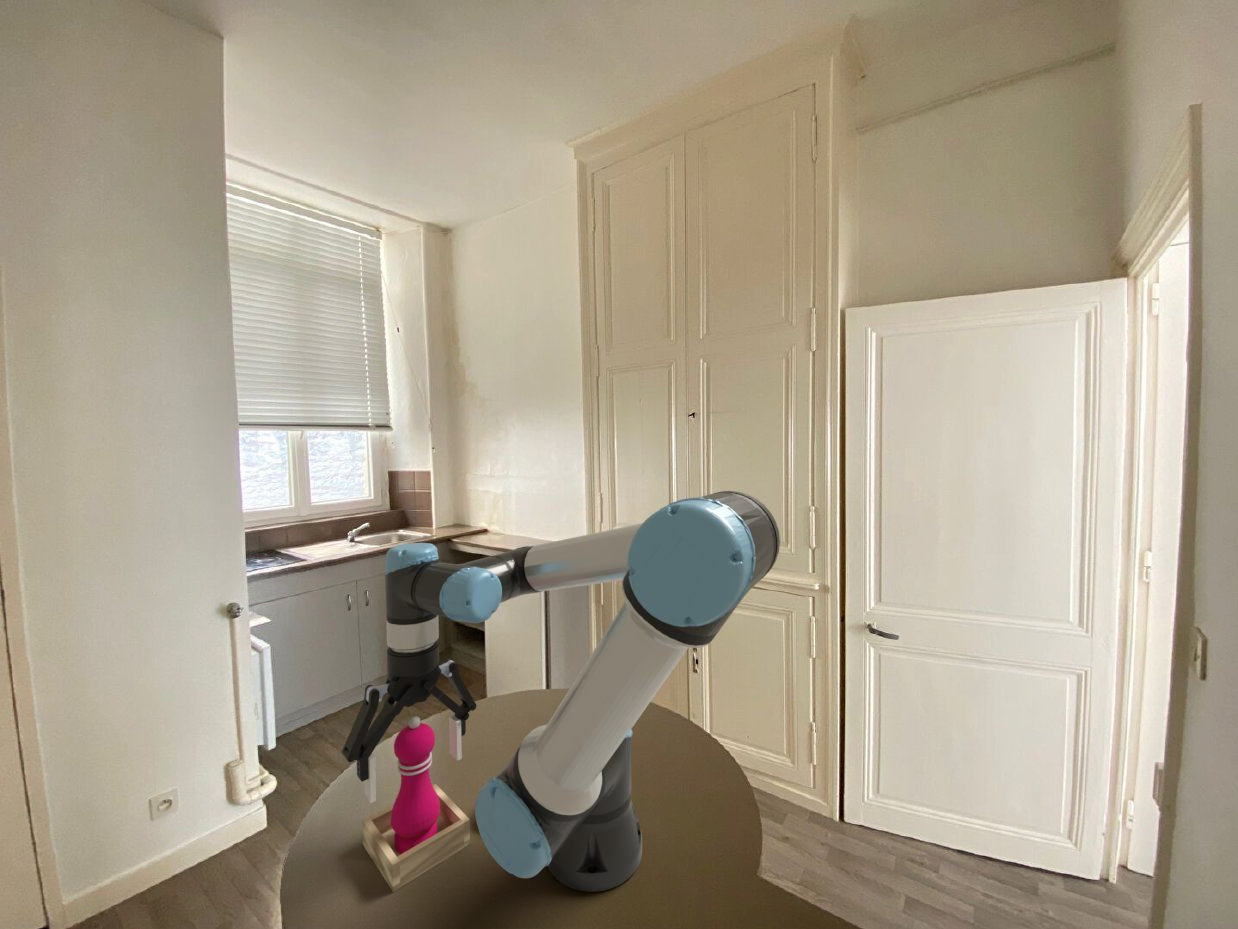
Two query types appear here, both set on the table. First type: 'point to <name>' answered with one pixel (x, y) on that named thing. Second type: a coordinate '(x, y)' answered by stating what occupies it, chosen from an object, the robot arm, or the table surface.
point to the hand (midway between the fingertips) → (415, 775)
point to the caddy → (422, 856)
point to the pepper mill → (414, 787)
